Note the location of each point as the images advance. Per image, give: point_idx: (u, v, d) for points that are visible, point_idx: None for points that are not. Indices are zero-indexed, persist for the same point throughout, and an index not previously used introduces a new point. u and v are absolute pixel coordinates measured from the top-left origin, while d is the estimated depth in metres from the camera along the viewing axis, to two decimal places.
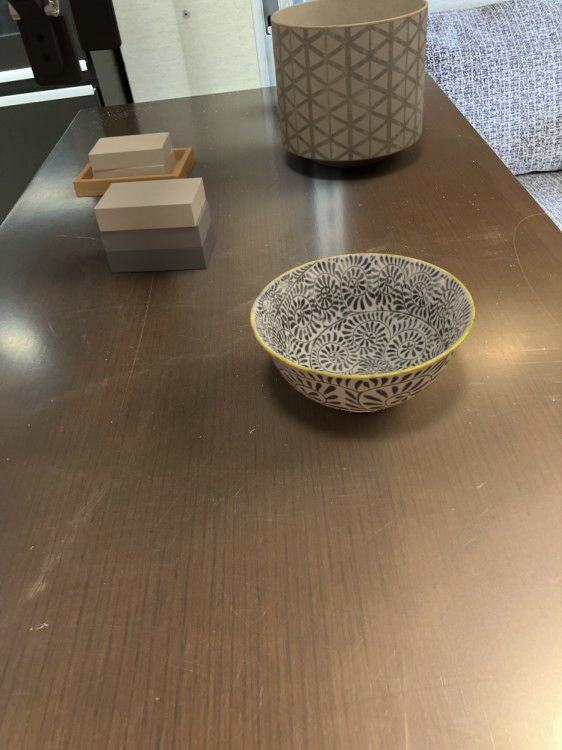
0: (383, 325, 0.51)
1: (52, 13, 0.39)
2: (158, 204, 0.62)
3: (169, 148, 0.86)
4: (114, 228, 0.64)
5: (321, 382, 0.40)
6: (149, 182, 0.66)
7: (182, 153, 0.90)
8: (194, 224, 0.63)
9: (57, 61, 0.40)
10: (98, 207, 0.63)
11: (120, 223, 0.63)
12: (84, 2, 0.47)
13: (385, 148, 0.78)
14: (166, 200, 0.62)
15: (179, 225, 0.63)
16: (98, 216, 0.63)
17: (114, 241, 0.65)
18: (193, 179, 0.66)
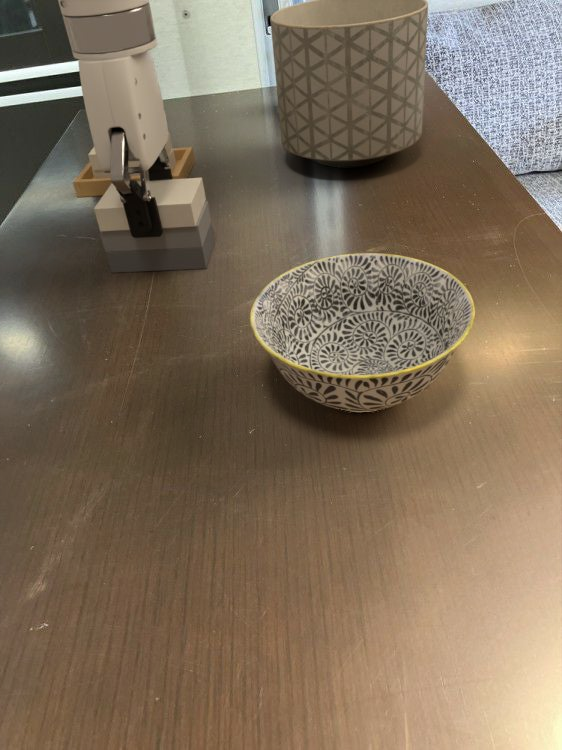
0: (383, 325, 0.51)
1: (147, 200, 0.60)
2: (158, 204, 0.62)
3: (169, 148, 0.86)
4: (114, 228, 0.64)
5: (321, 382, 0.40)
6: None
7: (182, 153, 0.90)
8: (194, 224, 0.63)
9: (148, 225, 0.62)
10: (98, 207, 0.63)
11: (120, 222, 0.63)
12: (152, 177, 0.67)
13: (385, 148, 0.78)
14: (166, 200, 0.62)
15: (179, 225, 0.63)
16: (98, 216, 0.63)
17: (114, 241, 0.65)
18: (193, 179, 0.66)
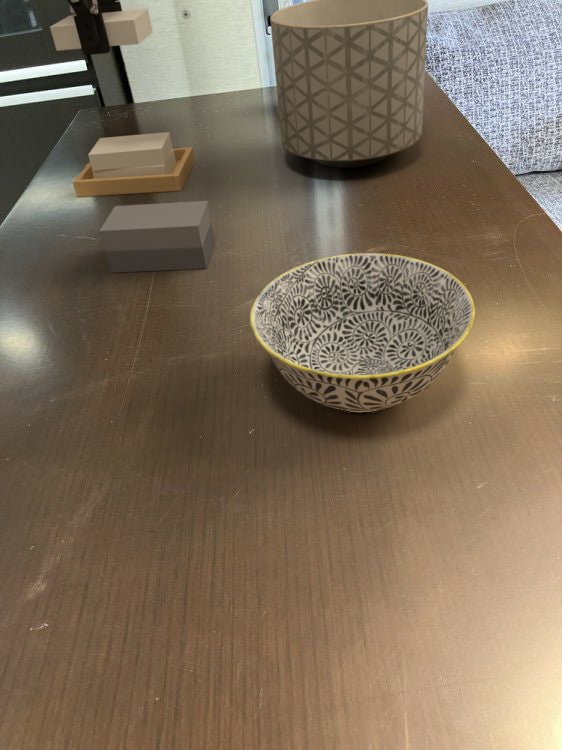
0: (383, 325, 0.51)
1: (94, 12, 0.69)
2: (105, 21, 0.71)
3: (169, 148, 0.86)
4: (68, 47, 0.72)
5: (321, 382, 0.40)
6: None
7: (182, 153, 0.90)
8: (138, 41, 0.72)
9: (96, 40, 0.71)
10: (53, 26, 0.71)
11: (73, 41, 0.72)
12: (104, 9, 0.75)
13: (385, 148, 0.78)
14: (113, 19, 0.71)
15: (125, 43, 0.72)
16: (54, 34, 0.72)
17: (114, 241, 0.65)
18: (140, 10, 0.75)
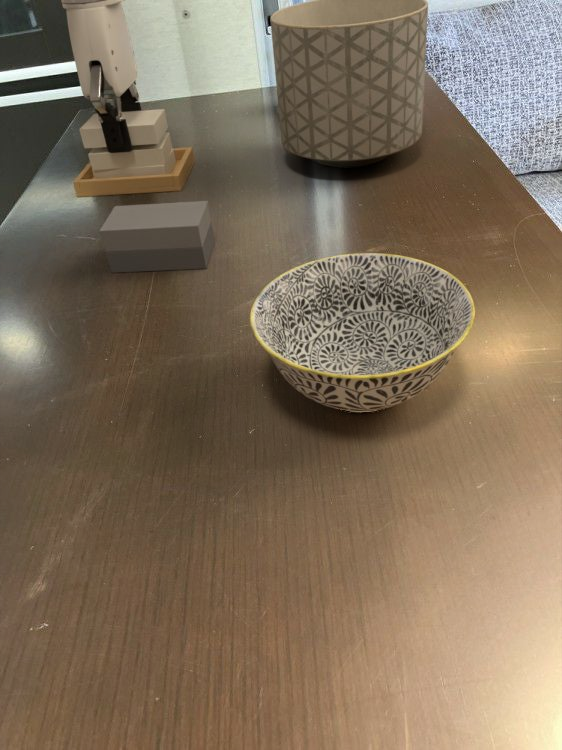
0: (383, 325, 0.51)
1: (119, 120, 0.78)
2: (128, 125, 0.80)
3: (169, 148, 0.86)
4: (95, 145, 0.82)
5: (321, 382, 0.40)
6: (123, 112, 0.85)
7: (182, 153, 0.90)
8: (157, 142, 0.81)
9: (120, 142, 0.80)
10: (82, 128, 0.81)
11: (99, 141, 0.82)
12: (125, 109, 0.85)
13: (385, 148, 0.78)
14: (135, 123, 0.81)
15: (145, 143, 0.81)
16: (82, 135, 0.81)
17: (114, 241, 0.65)
18: (157, 110, 0.85)
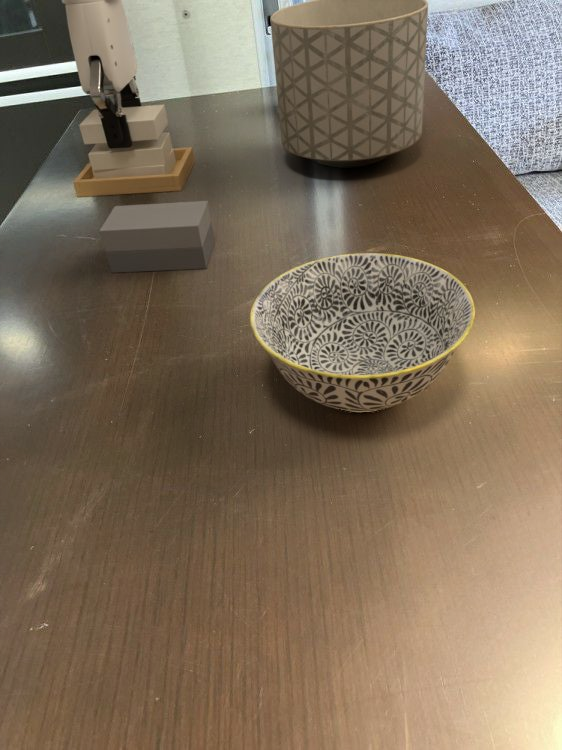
0: (383, 325, 0.51)
1: (119, 115, 0.78)
2: (128, 121, 0.80)
3: (169, 148, 0.86)
4: (95, 141, 0.82)
5: (321, 382, 0.40)
6: (123, 108, 0.85)
7: (182, 153, 0.90)
8: (157, 137, 0.81)
9: (120, 137, 0.80)
10: (82, 124, 0.81)
11: (99, 136, 0.81)
12: (125, 104, 0.85)
13: (385, 148, 0.78)
14: (135, 118, 0.81)
15: (145, 138, 0.81)
16: (82, 131, 0.81)
17: (114, 241, 0.65)
18: (157, 105, 0.84)
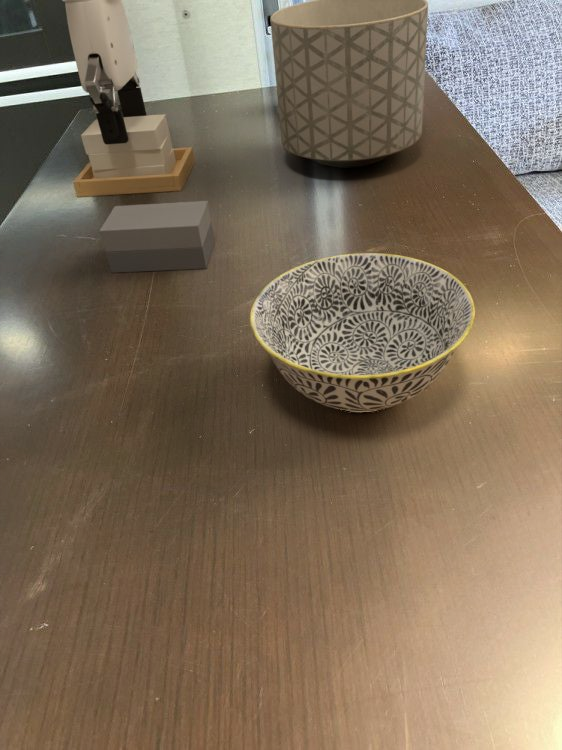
0: (383, 325, 0.51)
1: (115, 110, 0.76)
2: (129, 131, 0.81)
3: (169, 148, 0.86)
4: (97, 151, 0.83)
5: (321, 382, 0.40)
6: (124, 118, 0.85)
7: (182, 153, 0.90)
8: (158, 147, 0.82)
9: (116, 133, 0.78)
10: (84, 134, 0.82)
11: (101, 146, 0.82)
12: (126, 94, 0.85)
13: (385, 148, 0.78)
14: (136, 128, 0.81)
15: (146, 148, 0.82)
16: (84, 141, 0.82)
17: (114, 241, 0.65)
18: (158, 115, 0.85)
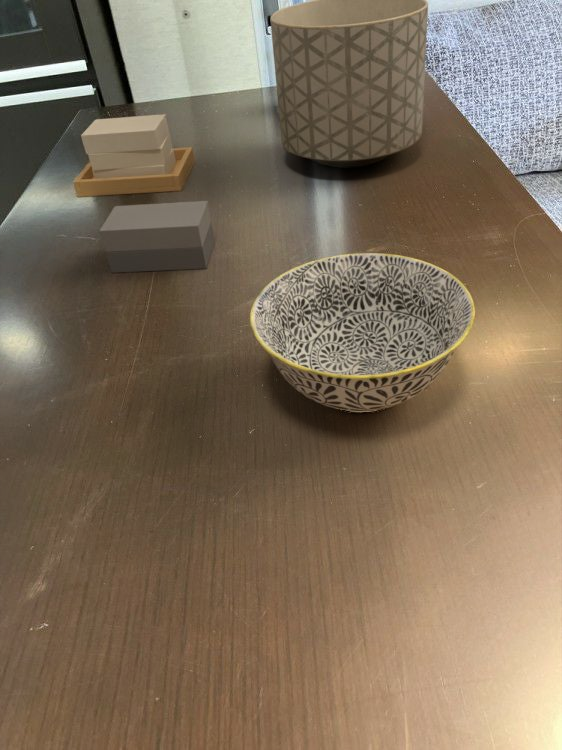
0: (383, 325, 0.51)
1: None
2: (129, 131, 0.81)
3: (169, 148, 0.86)
4: (97, 151, 0.83)
5: (321, 382, 0.40)
6: (124, 118, 0.85)
7: (182, 153, 0.90)
8: (158, 147, 0.82)
9: None
10: (84, 134, 0.82)
11: (101, 146, 0.82)
12: None
13: (385, 148, 0.78)
14: (136, 128, 0.81)
15: (146, 148, 0.82)
16: (84, 141, 0.82)
17: (114, 241, 0.65)
18: (158, 115, 0.85)
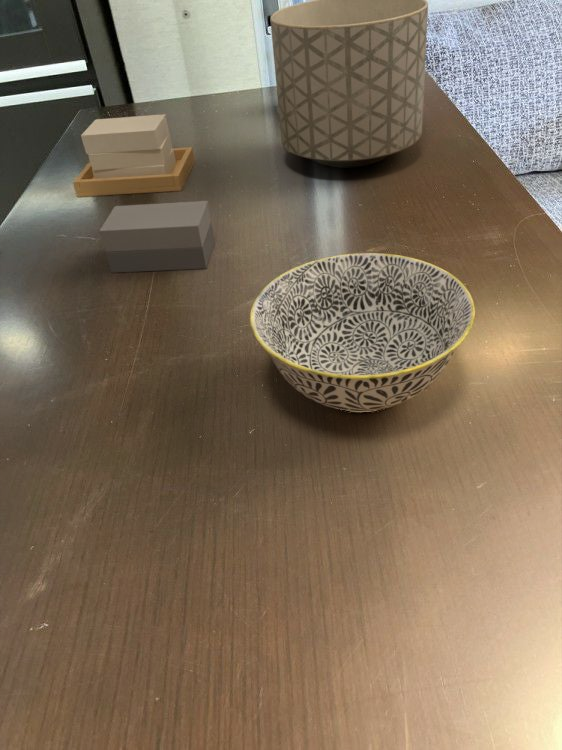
0: (383, 325, 0.51)
1: None
2: (129, 131, 0.81)
3: (169, 148, 0.86)
4: (97, 151, 0.83)
5: (321, 382, 0.40)
6: (124, 118, 0.85)
7: (182, 153, 0.90)
8: (158, 147, 0.82)
9: None
10: (84, 134, 0.82)
11: (101, 146, 0.82)
12: None
13: (385, 148, 0.78)
14: (136, 128, 0.81)
15: (146, 148, 0.82)
16: (84, 141, 0.82)
17: (114, 241, 0.65)
18: (158, 115, 0.85)
